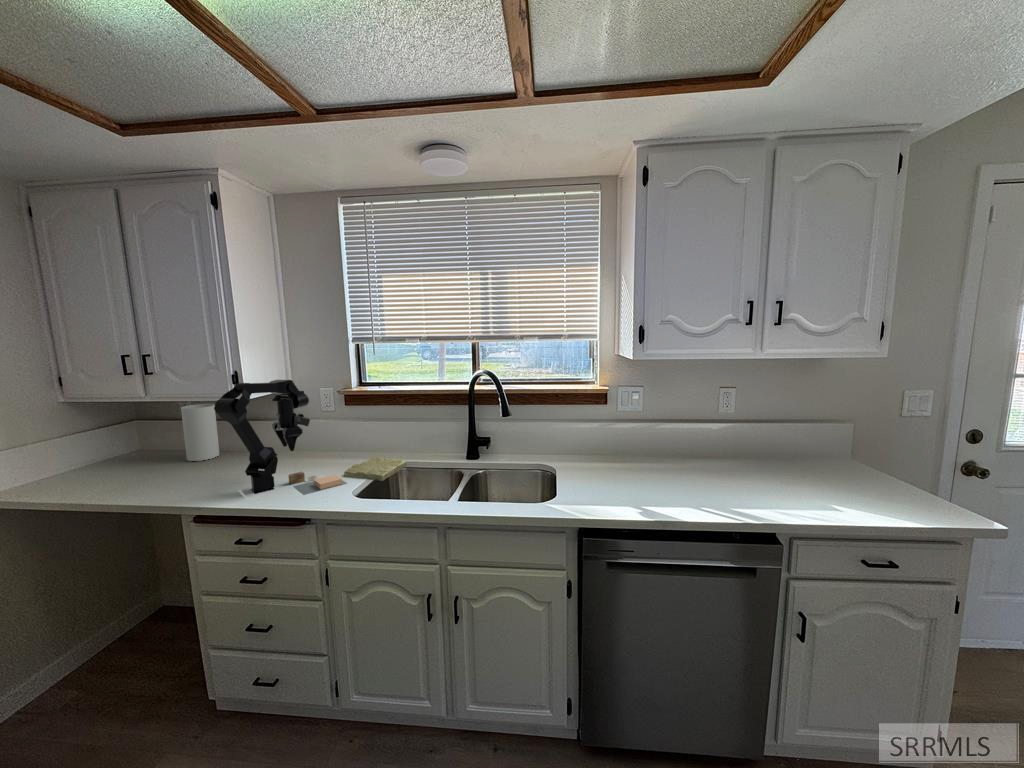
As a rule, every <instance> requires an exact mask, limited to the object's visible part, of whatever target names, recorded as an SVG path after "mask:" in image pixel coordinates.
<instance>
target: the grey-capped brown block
mask: <svg viewBox="0 0 1024 768" xmlns="http://www.w3.org/2000/svg"><path fill="white" fill-rule="evenodd" d="M305 475H306V474H305V472H304V471H299V472H295V473H290V474H288V483H289V485H291V486H292V485H293V486H294V485H296V484H297V485H298V484H302V483H309V482H313V481H314V479H318V478H319V477H318V476H316V475H312V476H311V475H310V476H307V477H305Z"/></svg>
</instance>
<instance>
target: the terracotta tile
mask: <svg viewBox="0 0 1024 768" xmlns="http://www.w3.org/2000/svg"><path fill="white" fill-rule="evenodd" d="M342 480H343V478H341V477H340V476H338V475H336V474H331V475H326V476H323V477H318V479H314V485H315V486H317V487H318V488H319V489H325V488H329V487H333V486H336V485H340V484H342ZM340 486H341V485H340ZM336 487H337V486H336ZM333 488H334V487H333ZM329 489H330V488H329ZM325 490H326V489H325Z"/></svg>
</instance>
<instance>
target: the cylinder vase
mask: <svg viewBox="0 0 1024 768" xmlns="http://www.w3.org/2000/svg"><path fill="white" fill-rule="evenodd" d="M214 407H215V403H200V404H198V403H197V404H189V405H185V406H182V407H180V409H181V410H180V411H181V418H182V419H181V421H182V429H183V439H184V446H185V448H184V449H185V454H186V455H185V457H186V460H187V461H188V462H192V461H197V462H204V461H203V460H205V461H209V460H208V459H210V460H212V458H213V459H215V457H216V458H218V457H219V456H220V447H219V445H220V444H219V436H218V427H217V417H216V412H215V410H214ZM217 456H218V457H217Z"/></svg>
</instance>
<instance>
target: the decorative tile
mask: <svg viewBox="0 0 1024 768" xmlns="http://www.w3.org/2000/svg"><path fill="white" fill-rule="evenodd" d="M407 465H408V463H407V460H405V459H398V458H390V457H389V458H388V457H372V458H370V459H368V460H366V461H362V462H361V463H357V464H352V466H351V467H349V468H347V470H345V471H343V473H344V474H343V477H344V478H345V477H347V478H355V479H356V478H357V479H369V480H374V481H375V482H376V481H377V482H382V481H385V480H386V479H388V478H389V477H392V476H393V475H394V474H396V473H397V472H400V471H401V470H402V469H404V468H406V467H407Z"/></svg>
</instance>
